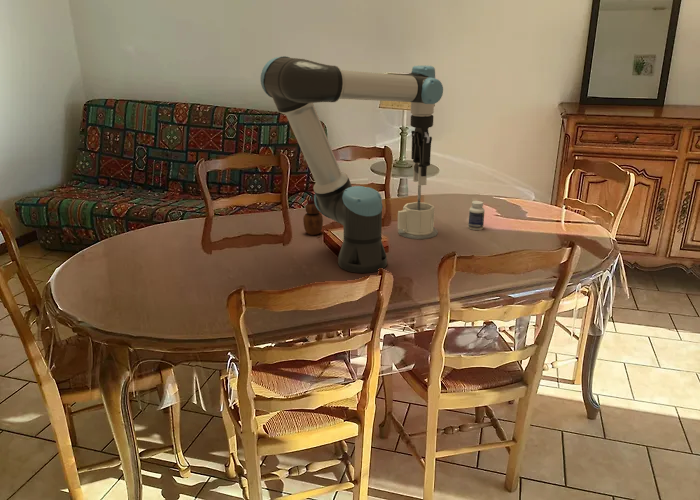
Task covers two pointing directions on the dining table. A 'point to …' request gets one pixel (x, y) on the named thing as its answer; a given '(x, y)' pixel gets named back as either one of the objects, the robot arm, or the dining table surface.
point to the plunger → (418, 189)
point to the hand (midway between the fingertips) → (419, 182)
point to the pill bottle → (476, 216)
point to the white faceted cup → (417, 221)
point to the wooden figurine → (312, 218)
